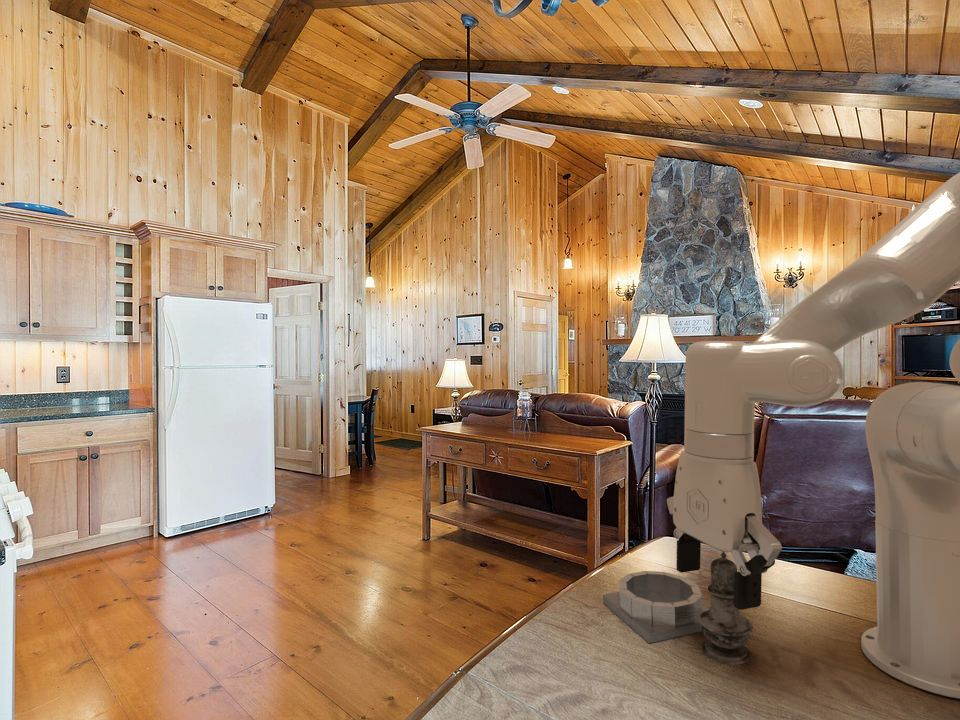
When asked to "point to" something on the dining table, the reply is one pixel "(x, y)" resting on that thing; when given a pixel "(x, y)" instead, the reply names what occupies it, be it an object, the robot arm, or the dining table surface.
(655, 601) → the hub plate
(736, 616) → the salt shaker
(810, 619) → the dining table surface
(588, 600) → the dining table surface
